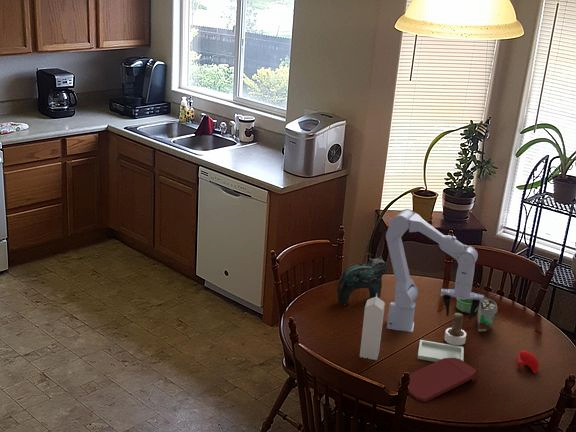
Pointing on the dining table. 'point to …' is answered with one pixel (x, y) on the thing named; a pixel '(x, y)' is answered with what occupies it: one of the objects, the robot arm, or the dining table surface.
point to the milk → (372, 328)
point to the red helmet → (527, 360)
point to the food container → (486, 314)
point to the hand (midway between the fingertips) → (458, 316)
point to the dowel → (457, 324)
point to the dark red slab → (439, 378)
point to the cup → (455, 337)
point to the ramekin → (464, 305)
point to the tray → (438, 351)
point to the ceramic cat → (361, 279)
